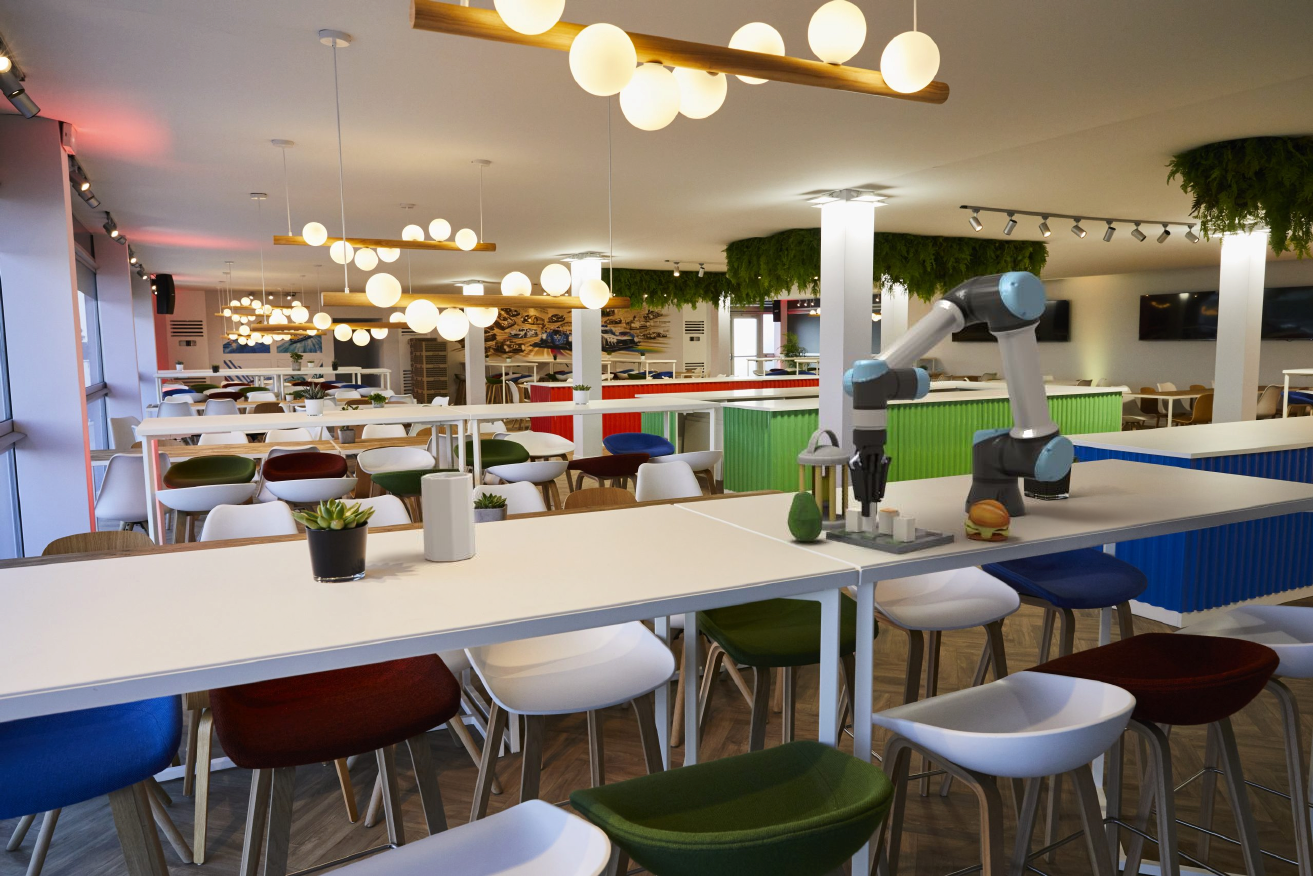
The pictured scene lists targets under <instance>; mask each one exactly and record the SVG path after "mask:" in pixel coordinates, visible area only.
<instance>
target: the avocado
mask: <svg viewBox="0 0 1313 876" xmlns="http://www.w3.org/2000/svg"><path fill="white" fill-rule="evenodd" d="M787 516H788V517H787V526H788V528H789V529H788V530H789V532H790V533H791V535H792V536H793V537H794V538H795V539H797V540H798V541H801V542H804V543H805V542H807V543H810V542H813V541H816V539H818V538H819V536H820V534H821V533H822V525H823V523H822V515H821V513H820V510H819V507H818V505H817V503H816V501H815V498H814V497H813V495H812V492H811V493H810V492H809V491H807V490H805V491H801V492H797V493H795V495H793V498H792V503H791V505H790V509H789V511H788V515H787Z"/></svg>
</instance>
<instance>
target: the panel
mask: <svg viewBox="0 0 1313 876" xmlns="http://www.w3.org/2000/svg"><path fill="white" fill-rule="evenodd" d="M825 539H826V540H830V541H835V542H838V543H844V544H848V545H852V546H857V547H862V548H865V549H866V548H867V549H871V550H877V551H881V552H885V553H889V554H896V555H901V554H906V553H910V552H914V551H918V550H922V549H923V550H924V549H928V548H932V547H937V546H940V545H945V544H949V543H954V542H955V534H951V533H945V532H942V531H938V530H931V529H924V528H919V527H916V526H915V540H913V541H909V542H904V541H899V540H894V539H893V535H889V534H884V533H879V521H876V531H873V532H870V531H861V532H854V531H849V530H846V528H845V529H838V530H832V531H826V532H825Z"/></svg>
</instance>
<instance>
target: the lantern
mask: <svg viewBox="0 0 1313 876" xmlns="http://www.w3.org/2000/svg"><path fill="white" fill-rule="evenodd" d="M823 433H825V434H826V435H827V436H828V438H829V440H830V443H831V444H829V445H828V444H819V445H817V442H818V439H819V438H820V437H821V435H822V434H823ZM796 460H797V461H796V463H797V464H799V465H798V467H799V468H798V469H799V470H798V471H799V473H798V474H799V475H798V476H799V477H798V478H799V484H798V485H799V486H798V487H799V488H798V489H799V492H801V491H806V466H811V494H812V495H813V497H814V498H815V501H816V503H817V505H818V507H819V510H820V513H821V515H822V523H823V525H822V530H821V532H822V531H826V532H830V531H835V530H838V529H845V528H846V509H849V467H848V465H847V461H848V460H851V457H850V455H849V454H848V453H847V452H846V451H845V450H844V449H842V448H841V447H840V444H839V440H838V437H837V435H836V434H835V432H834V431H832V430H831V429H828V428H823V427H822V428H819V429H816V430H815V431H814V432H813V433H812V434H811V437H810V439H809V441H808V444H807V448H804V449H803V450H802V451H801V452H800V453H799V454H798V455H797V459H796ZM823 466H824V475H823ZM837 466H841V514H840V513H837ZM799 492H798V493H799Z"/></svg>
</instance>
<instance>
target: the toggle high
mask: <svg viewBox="0 0 1313 876" xmlns="http://www.w3.org/2000/svg"><path fill="white" fill-rule="evenodd" d="M915 527H916V517H911V516H905V515H900V516H899V517H894V518H893V539H894V540H899V541H904V542H909V541H913V540H915Z"/></svg>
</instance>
